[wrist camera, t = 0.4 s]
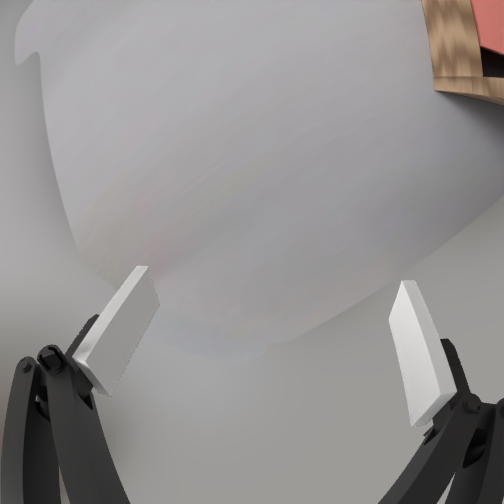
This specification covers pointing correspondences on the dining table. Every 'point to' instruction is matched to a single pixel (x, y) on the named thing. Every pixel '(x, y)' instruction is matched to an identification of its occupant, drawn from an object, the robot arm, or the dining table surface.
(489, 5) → the trapdoor
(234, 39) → the dining table surface
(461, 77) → the wooden box
